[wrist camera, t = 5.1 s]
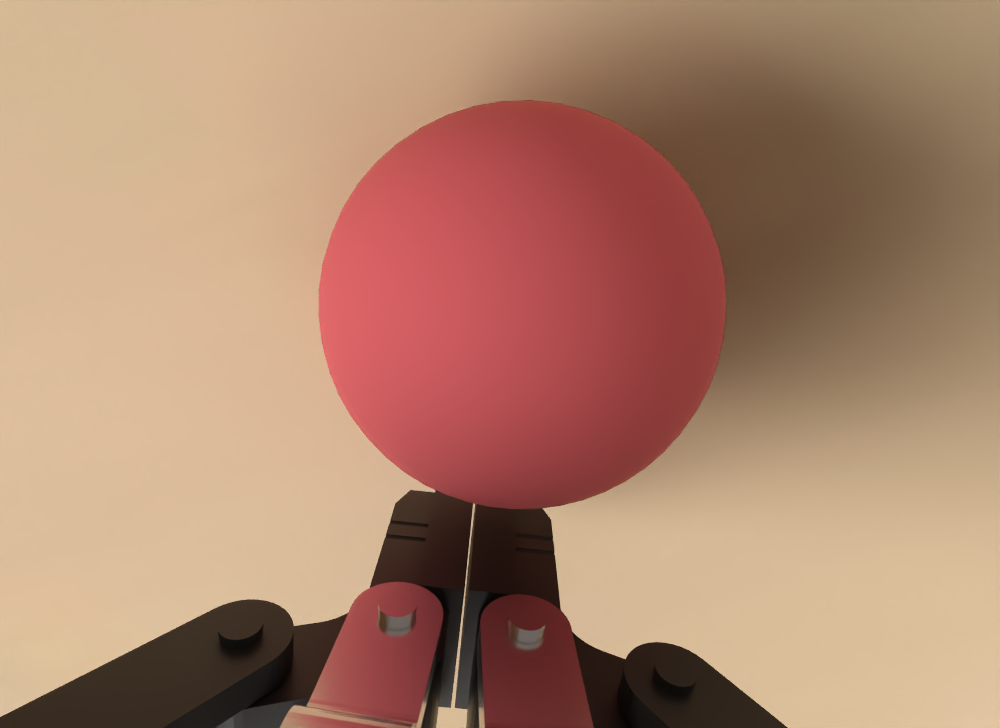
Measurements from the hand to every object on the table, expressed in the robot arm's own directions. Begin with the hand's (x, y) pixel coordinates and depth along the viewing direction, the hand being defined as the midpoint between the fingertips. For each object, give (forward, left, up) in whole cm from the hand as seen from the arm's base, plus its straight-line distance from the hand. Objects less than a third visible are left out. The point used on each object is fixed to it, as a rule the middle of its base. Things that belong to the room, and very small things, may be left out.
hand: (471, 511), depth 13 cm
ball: (0, -5, +2) cm, 5 cm away
